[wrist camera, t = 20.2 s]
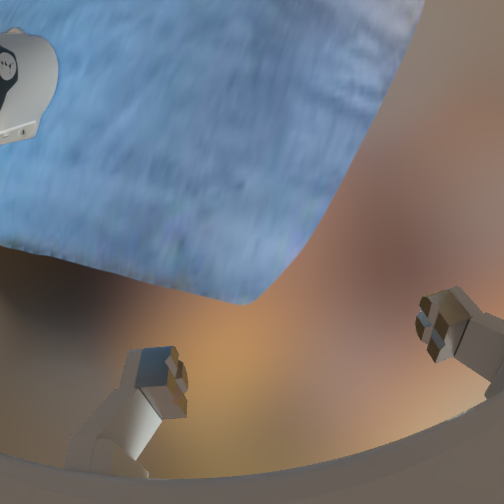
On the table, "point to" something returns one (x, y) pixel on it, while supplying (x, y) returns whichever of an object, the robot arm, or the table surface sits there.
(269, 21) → the table surface
